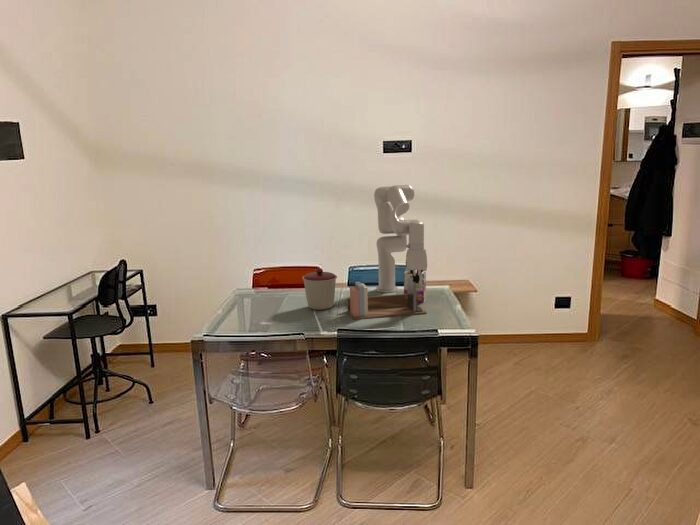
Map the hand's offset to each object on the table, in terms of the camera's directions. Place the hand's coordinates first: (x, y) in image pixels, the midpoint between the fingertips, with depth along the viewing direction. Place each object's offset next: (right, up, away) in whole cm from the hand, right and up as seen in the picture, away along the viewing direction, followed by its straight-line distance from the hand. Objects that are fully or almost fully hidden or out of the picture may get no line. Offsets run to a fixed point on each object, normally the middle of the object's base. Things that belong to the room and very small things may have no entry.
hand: (416, 282), depth 267 cm
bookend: (0, -13, +3) cm, 14 cm away
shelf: (-15, -15, +1) cm, 21 cm away
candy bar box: (+2, -11, +20) cm, 23 cm away
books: (-29, -15, -2) cm, 33 cm away
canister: (-49, -14, +13) cm, 52 cm away
